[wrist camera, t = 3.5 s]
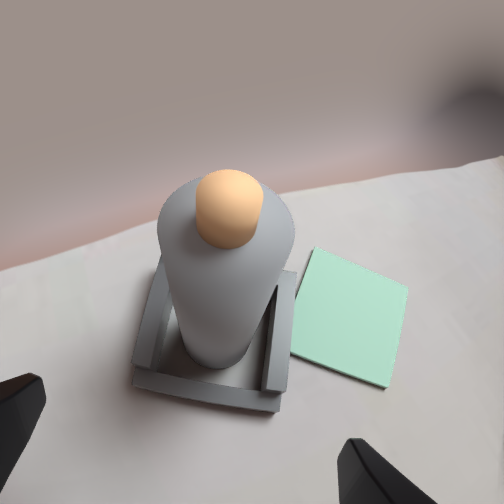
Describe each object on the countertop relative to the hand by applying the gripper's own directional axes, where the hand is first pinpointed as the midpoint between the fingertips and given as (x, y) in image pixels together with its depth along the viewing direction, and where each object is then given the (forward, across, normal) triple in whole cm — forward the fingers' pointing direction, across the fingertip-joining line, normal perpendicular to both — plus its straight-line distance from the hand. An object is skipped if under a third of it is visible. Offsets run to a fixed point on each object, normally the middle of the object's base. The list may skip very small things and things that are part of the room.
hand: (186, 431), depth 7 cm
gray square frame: (+14, 0, +4) cm, 14 cm away
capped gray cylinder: (+14, 0, +4) cm, 14 cm away
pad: (+16, -10, +2) cm, 19 cm away
